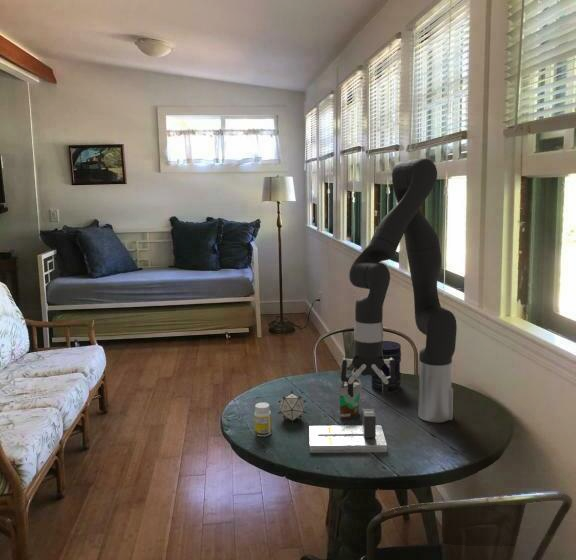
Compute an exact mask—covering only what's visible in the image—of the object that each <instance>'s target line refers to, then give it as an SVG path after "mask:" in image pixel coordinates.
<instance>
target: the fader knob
mask: <svg viewBox="0 0 576 560" xmlns="http://www.w3.org/2000/svg"><path fill="white" fill-rule="evenodd" d="M361 409H362V413H361V414H362V418H361V419H362V421H361V422H362V424H361V425H362V430H363V434H364V438H376V424H377V421H376V419H377V417H376V413H375V410H374V408H361Z"/></svg>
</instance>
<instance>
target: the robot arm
mask: <svg viewBox="0 0 576 560" xmlns="http://www.w3.org/2000/svg"><path fill="white" fill-rule="evenodd" d="M391 172H392V173H391V181H392V182H391V184H392V186H393V187H392V189H393V192H394V196H395V199H396V203H397V204H396V205H395V206H394V207H393V208H392V209H391V210H390V211H389V212H388V213H387V214H385V216H384V217H383V218H382V220H381V221H380V222H379V224H378V225H377V227H376V229H375V230H374V233H373V236H372V237H371V239H370V241H369V243H368V245H367V246H366V247H365V248H364V249H363V250H362V252H360V254H359V255H358V256H357V258H356V259H355V260H353V262H352V265H351V267H350V270H349V275H348V276H349V277H348V278H349V281H350V283H351V284H352V286H354V287H355V288H360V289H366V290H369V292H368V295H367V296H364V297H359V298H358V299H357V300H356V301H355V310H354V311H355V313H354V319H355V321H354V327H353V329H354V330H353V357H352V358H347V357H345V356H344V357H342V358H341V365H340V366H341V367H340V381H341V383H343V382H347V383H348V395H350V397H353V381H354V380H355V379H356V378H358V377H359V376H360V375H362V376H374V375H375V374H377V375H378V376H379V377H380V378H381V380H382V381H383V382H382V393H381V397H382V398H386V396H388V394H389V393H388V384H389V383H390V382H395V380H396V378H395V361H394V359H393V358H392V357H391V358H389V359H383V341H384V336H385V335H384V327H383V326H384V324H383V314H384V313H383V312H384V311H383V306H384V303H385V300H386V297H387V293H388V290H389V286H390V281H391V272H390V270H389V268H388V267H387V265H386V264H384V263H382V262H384V261H388V260H391V259H393V258H394V255H395V253H396V251H397V249H398V247H399V245H400V243H401V241H402V238H403V236H404V242H405V249H406V256H407V262H408V267H409V273H410V279H411V285H412V290H413V301H414V302H413V303H414V304H413V305H414V306H413V307H414V320H415V325H416V328H417V329H418V330H419V332H421V333H422V334H423V335H425V336H426V337H425V339H426V340H425V346H424V348H421V349H420V351H419V355H418V357H419V358H418V360H419V362H418V406H417V408H418V417H419V419H421V420H422V421H426V422H430V423H445V422H447V421H452V420H453V406H454V405H453V402H454V401H453V400H454V388H453V387H452V369H453V366H452V365H453V357H454V355H455V354H454V353H455V351H456V346H457V345H456V343H457V342H456V341H457V330H458V329H457V328H458V326H457V320H456V316H455V315H454V313H453V312H451V311H450V310H448V309H446V308H444V307H442V306H441V303H440V299H439V293H438V279H439V275H440V271H441V267H442V253H441V252H442V251H441V246H440V244H441V243H440V239H439V236H438V234H437V232H436V231H435V229H434V227H433V226H432V225H431V223H430V222H429V221H428V219H427V218H426V216H425V215H424V214H423V212H422V210H421V207H422V205H423V204H424V202H425V201H426V199H427V198H428V196H429V195H430V194H431V192H432V191H433V189H434V187H435V185H436V183H437V180H438V169H437V166H436V164H435V163H434V161H433V160H431V159H430V158H417V159H416V158H415V159H408V160H407V159H406V160H401V161H399V162H397V163H396V164H395V165H394V166H393V169H392V171H391ZM384 364H387V367H389V371H390V376H388V377H386V376H385V374H384V373H383V372H382V370H381V368H382V366H383V365H384ZM350 365H352V366H354V368H353V370H352V371H351V373H350V374H349V375H347V368H349V367H350ZM346 375H347V376H346ZM348 376H349V377H348Z"/></svg>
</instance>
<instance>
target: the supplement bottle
mask: <svg viewBox="0 0 576 560" xmlns="http://www.w3.org/2000/svg"><path fill="white" fill-rule="evenodd" d="M254 407H255V408H254V414H253V417H254V418H253V419H254V433H255V435H256V434H257V435H256V436H258V437H262V436H264V437H267V436H270V435H272V432H273V427H272V412H271V410H270V404H269V403H268V402H258V403H256V404H255V406H254Z"/></svg>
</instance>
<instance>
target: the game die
mask: <svg viewBox="0 0 576 560" xmlns="http://www.w3.org/2000/svg"><path fill="white" fill-rule="evenodd" d="M277 402H278V403H279V412H277V415H280V414H281V415H282V416H283V418H284V419H285V418H287V419H289V420H290V421H291V424H294V421H295V420H297V419H298V418H302V415H303V414H307V411H305V403H306V402H307V400H306V399H305V400H303V399H302V396H301V395H300V396H297V395H296V394H294V392H293V390H291V391H290V394H288V395H287V396H282V400H278V401H277Z"/></svg>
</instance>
